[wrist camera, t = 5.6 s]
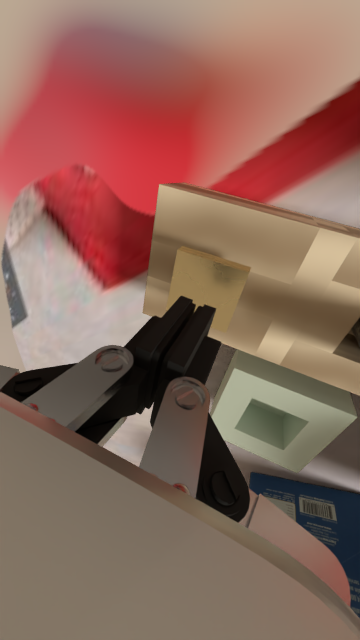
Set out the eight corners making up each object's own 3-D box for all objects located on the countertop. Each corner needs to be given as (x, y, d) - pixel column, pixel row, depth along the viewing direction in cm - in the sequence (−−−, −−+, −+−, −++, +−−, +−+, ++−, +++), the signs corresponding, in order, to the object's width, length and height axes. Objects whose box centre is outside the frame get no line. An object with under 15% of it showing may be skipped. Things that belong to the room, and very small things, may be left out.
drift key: (201, 232, 19) (177, 249, 14) (256, 249, 18) (249, 272, 13) (189, 282, 21) (165, 310, 17) (237, 299, 20) (225, 333, 16)
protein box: (371, 538, 33) (427, 756, 21) (256, 508, 40) (246, 661, 27) (380, 496, 29) (457, 742, 16) (249, 470, 35) (232, 632, 23)
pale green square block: (241, 336, 24) (234, 368, 20) (343, 374, 23) (357, 417, 19) (214, 397, 30) (204, 431, 26) (294, 431, 28) (297, 473, 24)
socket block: (184, 182, 19) (159, 184, 15) (501, 266, 15) (580, 298, 11) (164, 290, 25) (142, 312, 21) (392, 372, 21) (419, 418, 17)
